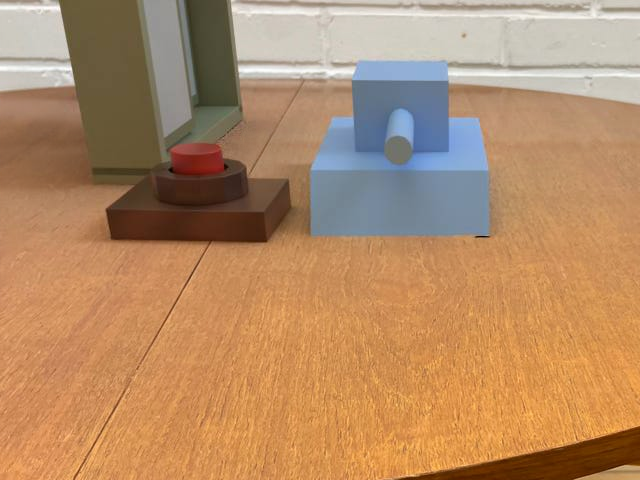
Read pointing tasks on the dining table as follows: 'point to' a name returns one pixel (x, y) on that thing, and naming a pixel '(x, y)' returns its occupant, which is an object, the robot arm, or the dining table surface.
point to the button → (197, 159)
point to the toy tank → (400, 159)
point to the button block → (200, 206)
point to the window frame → (149, 80)
